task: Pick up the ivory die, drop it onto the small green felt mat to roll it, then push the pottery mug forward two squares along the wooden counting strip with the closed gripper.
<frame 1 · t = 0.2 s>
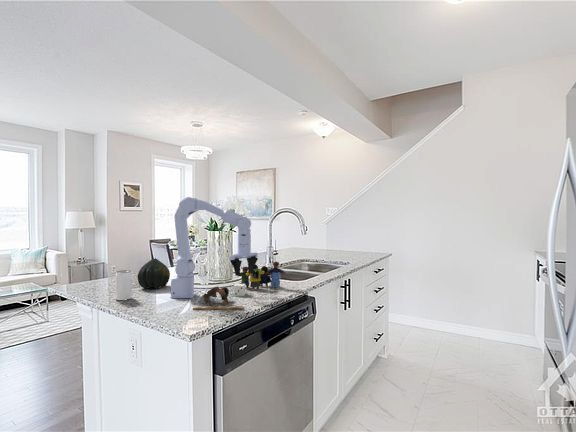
hand: (244, 274, 146), 10 cm above the counter, tool pointing down, fingers open, 7 cm apart
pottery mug: (218, 304, 134), on the counter
felt mat: (239, 295, 147), on the counter
counting strip: (218, 309, 126), on the counter
squash: (154, 287, 163), on the counter
die: (239, 294, 147), resting on felt mat
can: (123, 299, 141), on the counter
doll family: (261, 289, 161), on the counter
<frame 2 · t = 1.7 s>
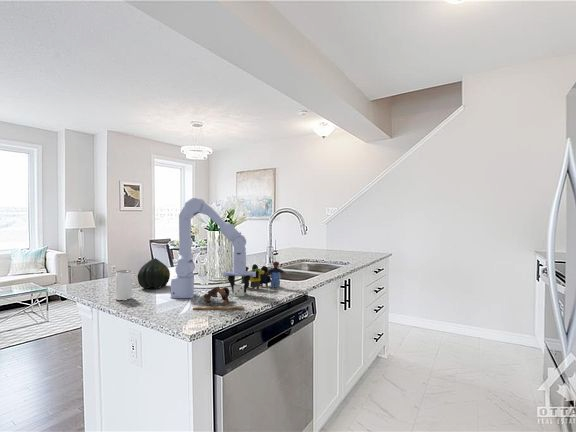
hand: (239, 292, 147), 1 cm above the counter, tool pointing down, fingers closed on die, 5 cm apart
die: (239, 294, 147), resting on felt mat, touching gripper
everything else where it was.
when the fingers open (9 cm above the counter, at t = 3.5 s): die drops 8 cm, resting on felt mat.
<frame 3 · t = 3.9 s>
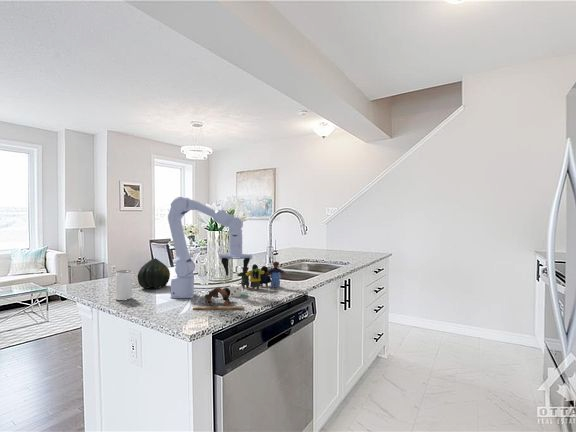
hand: (235, 275, 146), 9 cm above the counter, tool pointing down, fingers open, 7 cm apart
die: (235, 295, 146), resting on felt mat
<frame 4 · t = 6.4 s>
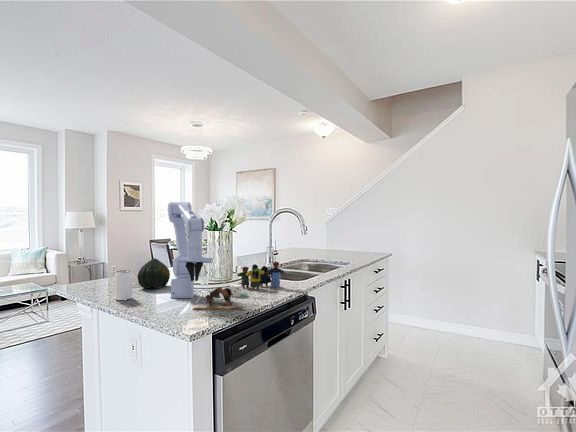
hand: (194, 280, 134), 9 cm above the counter, tool pointing down, fingers closed
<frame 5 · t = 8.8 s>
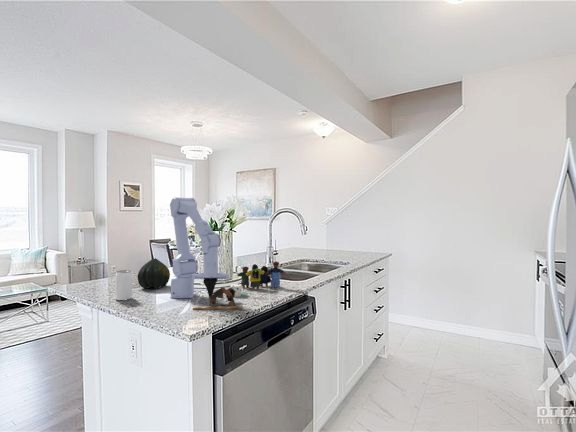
hand: (210, 296, 134), 3 cm above the counter, tool pointing down, fingers closed
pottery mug: (224, 305, 131), on the counter, touching gripper
everything else where it was.
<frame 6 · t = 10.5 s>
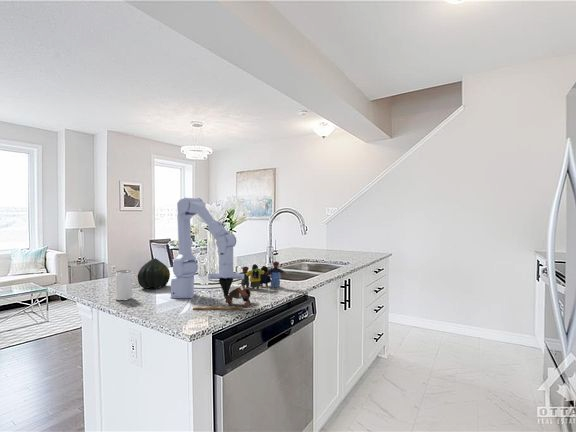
hand: (226, 296, 134), 3 cm above the counter, tool pointing down, fingers closed
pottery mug: (240, 306, 131), on the counter, touching gripper
everything else where it was.
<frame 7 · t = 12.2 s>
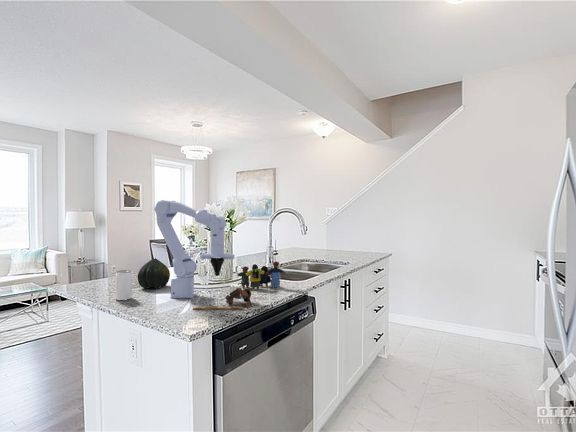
hand: (217, 275, 142), 10 cm above the counter, tool pointing down, fingers closed
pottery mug: (240, 306, 131), on the counter
everything else where it was.
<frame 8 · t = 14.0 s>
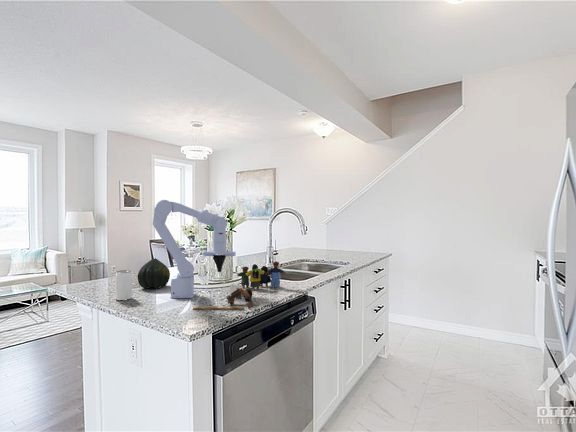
hand: (219, 271, 152), 10 cm above the counter, tool pointing down, fingers closed
nothing on the counter moved.
at the end: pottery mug inside the target area (3.1 cm from its centre), on the counter; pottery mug tilted 0°; die resting on felt mat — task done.
